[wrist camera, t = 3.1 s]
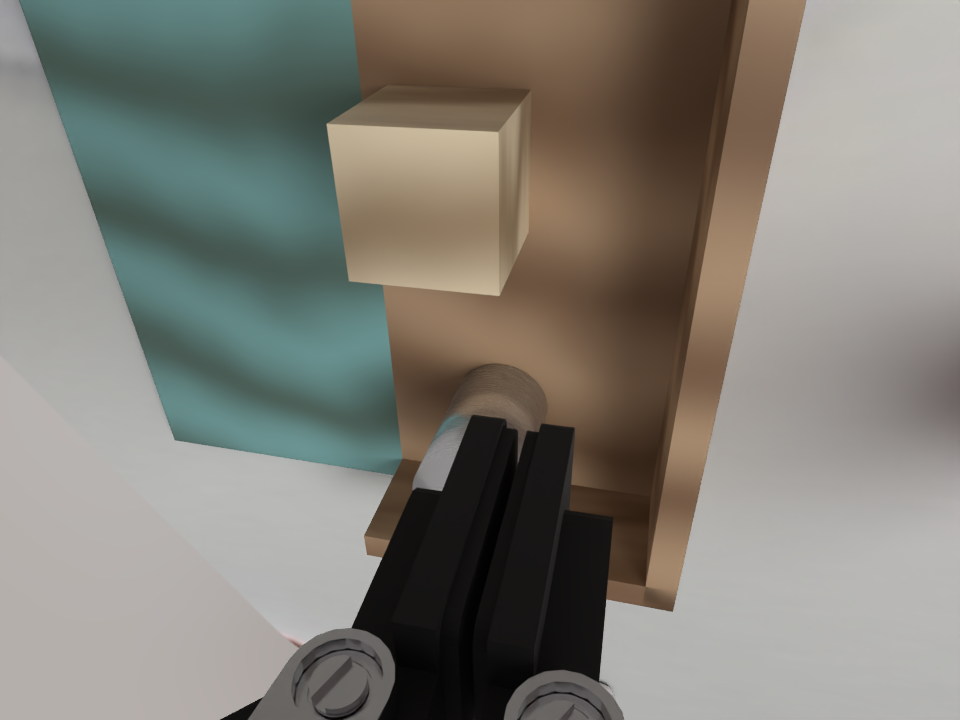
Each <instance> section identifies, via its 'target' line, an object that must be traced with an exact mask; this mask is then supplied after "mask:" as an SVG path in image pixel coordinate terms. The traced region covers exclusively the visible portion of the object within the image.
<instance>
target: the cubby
mask: <svg viewBox="0 0 960 720" xmlns="http://www.w3.org/2000/svg"><path fill="white" fill-rule="evenodd" d="M19 1H20V4H21V7H22V9H23V12H24V15H25V18H26V21H27V24H28V26H29V29H30V32H31V35H32V38H33V41H34V43H35V46H36V49H37V52H38V55H39V57H40V60H41V63H42V66H43V69H44V72H45V74H46V77H47V80H48V83H49V86H50V89H51V91H52V94H53V97H54V100H55V103H56V106H57V108H58V111H59V114H60V117H61V120H62V122H63V125H64V128H65V131H66V134H67V137H68V139H69V142H70V145H71V148H72V151H73V154H74V156H75V159H76V162H77V165H78V168H79V171H80V173H81V176H82V179H83V182H84V185H85V188H86V190H87V193H88V196H89V199H90V202H91V204H92V207H93V210H94V213H95V216H96V219H97V221H98V224H99V227H100V230H101V233H102V236H103V238H104V241H105V244H106V247H107V250H108V253H109V255H110V258H111V261H112V264H113V267H114V269H115V272H116V275H117V278H118V281H119V284H120V286H121V289H122V292H123V295H124V298H125V301H126V303H127V306H128V309H129V312H130V315H131V318H132V320H133V323H134V326H135V329H136V332H137V335H138V337H139V340H140V343H141V346H142V349H143V351H144V354H145V357H146V360H147V363H148V366H149V368H150V371H151V374H152V377H153V380H154V383H155V385H156V388H157V391H158V394H159V397H160V400H161V402H162V405H163V408H164V411H165V414H166V417H167V419H168V422H169V425H170V428H171V431H172V433H173V436H174V439H175V440H177V441H183V442H190V443H196V444H202V445H209V446H215V447H221V448H227V449H234V450H240V451H246V452H253V453H259V454H265V455H271V456H278V457H284V458H290V459H296V460H303V461H309V462H315V463H322V464H328V465H334V466H340V467H347V468H353V469H359V470H366V471H372V472H378V473H384V474H391V475H394V477H393V479H392V481H391V483H390V485H389V487H388V489H387V491H386V493H385V495H384V497H383V499H382V501H381V503H380V505H379V507H378V509H377V511H376V513H375V515H374V517H373V519H372V521H371V523H370V525H369V527H368V529H367V531H366V533H365V535H364V538H365V544H366V550H367V555H372V556H377V557H382V558H383V555H384V553H385V551H386V549H387V546H388V544H389V542H390V540H391V537H392V535H393V533H394V531H395V528H396V526H397V524H398V522H399V519H400V517H401V515H402V512H403V510H404V508H405V506H406V503H407V501H408V499H409V497H410V495H411V493H412V491H413V487H412V486H413V480H414V477H415V475H416V473H417V471H418V469H419V467H420V464H421V462H422V460H423V458H424V456H425V454H426V452H427V450H428V448H429V446H430V444H431V442H432V440H433V438H434V436H435V434H436V432H437V430H438V428H439V426H440V424H441V422H442V420H443V418H444V416H445V414H446V412H447V410H448V408H449V406H450V404H451V402H452V400H453V398H454V396H455V393H456V391H457V389H458V387H459V385H460V383H461V381H462V380H463V378H464V377H465V376H466V375H467V374H468V373H469V372H470V371H471V370H473V369H475V368H477V367H479V366H483V365H487V364H503V365H508V366H512V367H515V368H517V369H519V370H521V371H523V372H525V373H527V374H528V375H530V376H531V377H532V378H533V379H534V380H535V381H536V382H537V383H538V384H539V385H540V387H541V388H542V390H543V392H544V394H545V396H546V400H547V406H548V409H547V415H546V419H545V422H544V424H551V425H559V426H566V427H574V428H575V440H574V454H573V467H572V480H571V494H570V507H569V510H570V511H577V512H584V513H590V514H597V515H603V516H610V517H613V528H612V540H611V551H610V562H609V574H608V585H607V596H606V599H607V600H613V601H618V602H623V603H629V604H634V605H640V606H645V607H650V608H656V609H661V610H666V611H672V612H673V609H674V604H675V599H676V595H677V590H678V586H679V581H680V576H681V572H682V567H683V563H684V558H685V554H686V549H687V544H688V540H689V535H690V531H691V526H692V522H693V517H694V512H695V508H696V503H697V499H698V494H699V490H700V485H701V480H702V476H703V471H704V467H705V462H706V458H707V453H708V448H709V444H710V439H711V435H712V430H713V426H714V421H715V416H716V412H717V407H718V403H719V398H720V393H721V389H722V384H723V380H724V375H725V371H726V366H727V361H728V357H729V352H730V348H731V343H732V339H733V334H734V329H735V325H736V320H737V316H738V311H739V307H740V302H741V297H742V293H743V288H744V284H745V279H746V275H747V270H748V265H749V261H750V256H751V252H752V247H753V242H754V238H755V233H756V229H757V224H758V220H759V215H760V210H761V206H762V201H763V197H764V192H765V188H766V183H767V178H768V174H769V169H770V165H771V160H772V156H773V151H774V146H775V142H776V137H777V133H778V128H779V124H780V119H781V114H782V110H783V105H784V101H785V96H786V92H787V87H788V82H789V78H790V73H791V69H792V64H793V59H794V55H795V50H796V46H797V41H798V37H799V32H800V27H801V23H802V18H803V14H804V9H805V5H806V0H19ZM386 85H406V86H436V87H466V88H496V89H526V90H531V132H530V183H529V232H528V234H527V237H526V239H525V241H524V243H523V245H522V248H521V250H520V252H519V254H518V256H517V259H516V261H515V263H514V265H513V267H512V270H511V272H510V274H509V276H508V278H507V281H506V283H505V285H504V287H503V289H502V292H501V294H500V296H493V295H483V294H473V293H463V292H453V291H442V290H432V289H422V288H412V287H402V286H391V285H381V284H371V283H361V282H351V281H349V278H348V271H347V264H346V257H345V250H344V243H343V236H342V229H341V222H340V215H339V208H338V201H337V194H336V187H335V180H334V173H333V166H332V159H331V152H330V145H329V138H328V131H327V123H329V122H330V121H332V120H333V119H335V118H337V117H338V116H340V115H341V114H343V113H344V112H346V111H348V110H349V109H351V108H352V107H354V106H355V105H357V104H358V103H360V102H362V101H363V100H365V99H366V98H368V97H369V96H371V95H372V94H374V93H376V92H377V91H379V90H380V89H382V88H383V87H385V86H386Z"/></svg>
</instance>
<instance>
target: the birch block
mask: <svg viewBox="0 0 960 720" xmlns="http://www.w3.org/2000/svg"><path fill="white" fill-rule="evenodd" d="M327 131H328V138H329V145H330V152H331V159H332V166H333V173H334V180H335V187H336V194H337V201H338V208H339V215H340V222H341V229H342V236H343V243H344V250H345V257H346V264H347V271H348V278H349V281H351V282H361V283H371V284H381V285H391V286H402V287H412V288H422V289H432V290H442V291H453V292H463V293H473V294H483V295H493V296H500V294H501V292H502V289H503V287H504V285H505V283H506V281H507V278H508V276H509V274H510V272H511V270H512V267H513V265H514V263H515V261H516V259H517V256H518V254H519V252H520V250H521V248H522V245H523V243H524V241H525V239H526V237H527V234H528V232H529V183H530V132H531V90H526V89H496V88H466V87H436V86H406V85H386V86H385V87H383V88H382V89H380V90H379V91H377V92H376V93H374V94H372V95H371V96H369V97H368V98H366V99H365V100H363V101H362V102H360V103H358V104H357V105H355V106H354V107H352V108H351V109H349V110H348V111H346V112H344V113H343V114H341V115H340V116H338V117H337V118H335V119H333V120H332V121H330V122H329V123H327Z"/></svg>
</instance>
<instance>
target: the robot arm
mask: <svg viewBox="0 0 960 720" xmlns="http://www.w3.org/2000/svg"><path fill="white" fill-rule="evenodd" d="M574 440H575V428H574V427H566V426H559V425H551V424H543V423H542V424H541V426H540V429H539V432H535V431H527V432H526V436H525V439H524V443H523V447H522V450H521V454H520V458H519V461H518V430H517V429H512V428H507V421H506V419H503V418H495V417H487V416H480V415H472V416H471V418H470V420H469V423H468V425H467V428H466V431H465V433H464V436H463V438H462V441H461V443H460V446H459V449H458V451H457V454H456V456H455V459H454V461H453V464H452V466H451V469H450V472H449V474H448V477H447V479H446V482H445V484H444V487H443V490H442V491H438V490H431V489H424V488H418V487H416V488H415V489H414V490H413V491H412V493H411V495H410V497H409V499H408V501H407V503H406V506H405V508H404V510H403V512H402V515H401V517H400V519H399V522H398V524H397V526H396V528H395V531H394V533H393V535H392V537H391V540H390V542H389V544H388V546H387V549H386V551H385V553H384V555H383V558H382V560H381V562H380V565H379V567H378V569H377V571H376V574H375V576H374V578H373V580H372V583H371V585H370V587H369V589H368V592H367V594H366V596H365V598H364V601H363V603H362V605H361V608H360V610H359V612H358V614H357V617H356V619H355V621H354V623H353V626H352V628H346V629H335V630H331V631H328V632H326V633H323V634H320V635H317V636H315V637H314V638H312V639H311V640H309V641H308V642H307V643H305V644H304V645H302V646H301V647H300V648H299V649H298V650H297V651H296V652H295V654H294V655H293V656H292V657H291V658H290V659H289V661H288V662H287V663H286V665H285V666H284V668H283V669H282V671H281V672H280V674H279V675H278V677H277V678H276V680H275V681H274V682H273V684H272V685H271V687H270V688H269V690H268V691H267V693H266V694H265V696H264V697H263V698H261V699H259V700H257V701H255V702H253V703H251V704H249V705H247V706H245V707H244V708H242V709H240V710H238V711H236V712H234V713H232V714H230V715H228V716H227V717H224V718H223V719H221V720H624V717H623V713H622V711H621V709H620V707H619V706H618V704H617V703H616V701H615V699H614V698H613V696H612V695H611V694H610V693H609V692H608V691H607V690H606V689H605V688H604V687H603V686H601V685H600V684H599V676H600V664H601V653H602V642H603V630H604V619H605V608H606V596H607V585H608V574H609V562H610V551H611V540H612V528H613V517H610V516H603V515H597V514H590V513H584V512H577V511H570V510H569V507H570V494H571V480H572V467H573V454H574Z"/></svg>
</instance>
